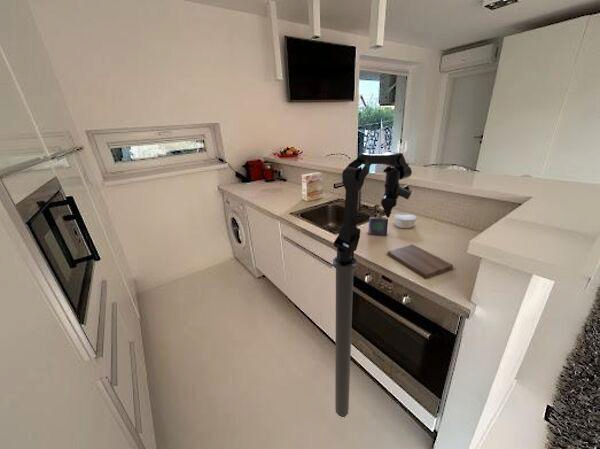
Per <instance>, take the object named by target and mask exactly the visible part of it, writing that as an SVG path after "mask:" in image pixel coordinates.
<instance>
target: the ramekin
mask: <svg viewBox="0 0 600 449" xmlns="http://www.w3.org/2000/svg"><path fill="white" fill-rule="evenodd" d="M393 217H394V224H395V226H396V227H398V228H401V229H412V228H413V227H414V226H415V224H416V221H417V216H416V215H414V214H411V213H407V212H406V213H405V212H401V213H400V212H399V213H396V214H394V216H393Z"/></svg>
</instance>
